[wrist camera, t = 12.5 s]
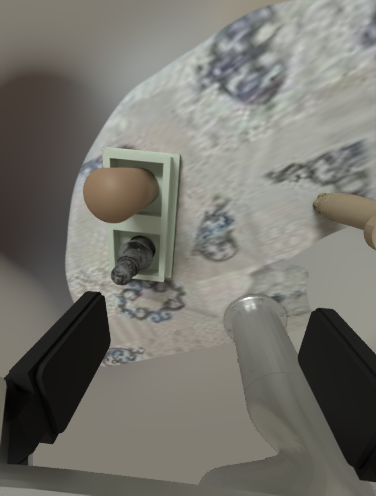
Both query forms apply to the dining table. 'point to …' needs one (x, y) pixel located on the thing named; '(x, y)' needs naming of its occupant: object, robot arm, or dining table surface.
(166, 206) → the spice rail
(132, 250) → the salt shaker
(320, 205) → the handle
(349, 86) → the dining table surface
